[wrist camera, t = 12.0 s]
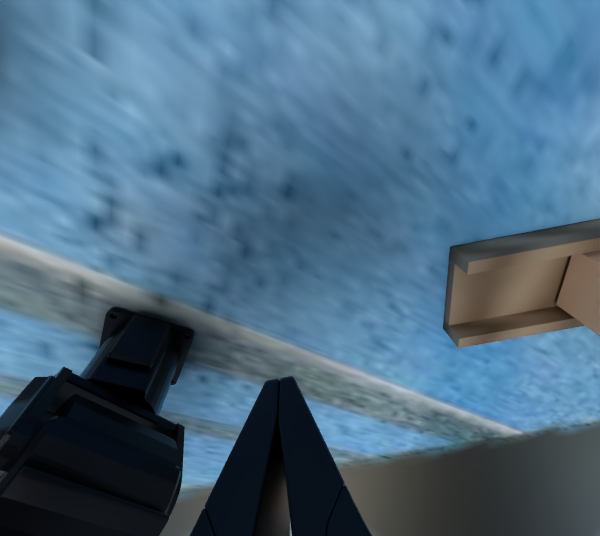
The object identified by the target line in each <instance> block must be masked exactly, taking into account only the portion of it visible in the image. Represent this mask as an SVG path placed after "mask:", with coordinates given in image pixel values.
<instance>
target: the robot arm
mask: <svg viewBox="0 0 600 536" xmlns="http://www.w3.org/2000/svg"><path fill="white" fill-rule="evenodd" d="M113 314H115V315H116V316H115V315H113ZM186 334H188V335H189V336H187V335H186ZM193 337H194V331H193V330H191V329H188V328H185V327H181V326H178V325H174V324H171V323H167V322H164V321H160V320H157V319H153V318H149V317H146V316H142V315H139V314H135V313H132V312H128V311H125V310H121V309H118V308H111V309H110V310H109V311H108V312H107V314H106V317H105V322H104V327H103V332H102V338H101V343H100V348H99V350H98V352H97V353H96V355H95V356H94V357H93V359H92V360H91V361H90V363H89V364H88V366H87V367H86V368H85V370H84V371H83V373H82V374H81V375H80V376H78V375H76V374H74V373H72V370H70V369H68V368H65V367H63V368H62V369H61V370H60V371H59V372H58V373H57V374H56V375H55V376H49V377H35V378H34V379H33V380H32V381H31V382H30V383H29V384H28V385H27V387H26V388H25V389H24V390H23V391H22V392H21V393H20V394H19V396H18V397H17V398H16V399H15V400H14V401H13V402H12V404H11V405H10V406H9V407H8V408H7V409H6V410H5V412H4V413H3V414H2V415H1V416H0V536H159V535H160V533H161V531H162V530H163V528H164V526H165V525H166V523H167V522H168V519H169V516H170V514H171V512H172V510H173V508H174V506H175V503H176V500H177V498H178V495H179V491H180V487H181V482H182V468H183V448H184V429H185V427H184V426H182V425H180V424H178V423H177V424H175V423H173V422H171V421H169V420H167V419H165V418H163V417H161V416H159V413H160V410H161V408H162V405H163V403H164V400H165V397H166V395H167V392H168V389H169V387H170V385H174V384H176V382H177V379H178V377H179V374H180V372H181V369H182V366H183V364H184V361H185V358H186V356H187V353H188V351H189V348H190V345H191V343H192V340H193ZM205 508H206V509H203V510H202V512H201V514H200V516H199V518H198V520H197V522H196V524H195V526H194V528H193V530H192V532H191V534H190V536H289V535H290V534H289V533H290V532H289V531H290V521H291V529H292V536H372V535H371V533H370V531H369V529H368V528H367V526H366V524H365V523H364V520H363V518H362V516H361V514H360V513H359V511H358V509H357V507H356V505H355V503H354V501H353V499H352V497H351V495H350V493H349V490H348V489H347V486H345V483H344V480H343V478H342V476H341V474H340V472H339V470H338V468H337V466H336V464H335V462H334V460H333V457H332V455H331V453H330V451H329V449H328V447H327V445H326V443H325V441H324V439H323V437H322V435H321V433H320V430H319V428H318V426H317V424H316V422H315V420H314V418H313V416H312V414H311V412H310V410H309V408H308V406H307V403H306V401H305V399H304V397H303V395H302V393H301V391H300V389H299V387H298V385H297V383H296V381H295V379H294V377H293V376H289V377H284V378H281V379H280V380H279V379H272V380H268V381H266V382H265V384H264V386H263V388H262V390H261V392H260V394H259V396H258V398H257V400H256V402H255V404H254V406H253V408H252V410H251V412H250V414H249V416H248V418H247V420H246V422H245V425H244V427H243V429H242V431H241V433H240V435H239V437H238V439H237V441H236V443H235V445H234V447H233V449H232V451H231V453H230V455H229V457H228V459H227V461H226V463H225V465H224V467H223V469H222V472H221V474H220V476H219V478H218V480H217V482H216V484H215V486H214V488H213V490H212V492H211V494H210V496H209V498H208V500H207V502H206V504H205Z"/></svg>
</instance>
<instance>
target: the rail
mask: <svg viewBox="0 0 600 536" xmlns="http://www.w3.org/2000/svg"><path fill="white" fill-rule="evenodd" d="M599 250H600V219H597V220H591V221H586V222H581V223H575V224H570V225H565V226H559V227H554V228H549V229H543V230H538V231H533V232H527V233H522V234H517V235H511V236H506V237H501V238H495V239H490V240H485V241H479V242H474V243H469V244H463V245H458V246H453V247H450V257H449V269H448V280H447V292H446V303H445V315H444V326H443V328H444V330H445V331H446V333H447V334H448V335H449V337H450V338H451V339H452V341H453V342H454V343H455V345H456V346H457V347H458V348H461V347H467V346H473V345H478V344H484V343H490V342H495V341H501V340H506V339H512V338H518V337H523V336H529V335H535V334H540V333H546V332H551V331H557V330H563V329H568V328H574V327H579V326H585V325H584V324H582V323H581V322H580V321H578V320H577V319H575V318H574V317H573V316H571V315H570V314H569V313H567V312H566V311H564V310H563V309H562V308H560V307H559V306H557V305H556V303H557V300H558V297H559V294H560V291H561V288H562V285H563V281H564V278H565V275H566V272H567V269H568V266H569V263H570V260H571V256H572V255H577V254H582V253H588V252H593V251H599Z"/></svg>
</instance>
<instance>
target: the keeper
mask: <svg viewBox="0 0 600 536" xmlns="http://www.w3.org/2000/svg"><path fill="white" fill-rule="evenodd" d="M556 305H557V306H559V307H560V308H562V309H563V310H564V311H566V312H567V313H569V314H570V315H571V316H573V317H574V318H575V319H577V320H578V321H580V322H581V323H582V324H584V325H585V326H587V327H588V328H589V329H591V330H592V331H593V332H595V333H596V334H598V335H599V336H600V250H599V251H593V252H588V253H582V254H577V255H572V256H571V260H570V263H569V266H568V269H567V272H566V275H565V278H564V281H563V285H562V288H561V291H560V294H559V297H558V300H557V303H556Z"/></svg>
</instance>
